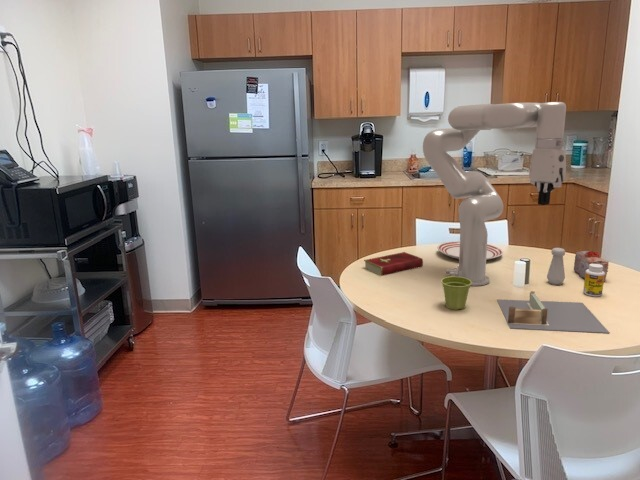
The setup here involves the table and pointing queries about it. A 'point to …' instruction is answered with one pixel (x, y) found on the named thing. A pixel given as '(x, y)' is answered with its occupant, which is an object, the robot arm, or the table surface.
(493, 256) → the dinner plate
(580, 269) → the food item
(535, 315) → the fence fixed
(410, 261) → the hardcover book
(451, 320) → the table surface
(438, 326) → the table surface
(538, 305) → the bar
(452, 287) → the plant pot
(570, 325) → the card
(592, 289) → the supplement bottle
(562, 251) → the salt shaker
